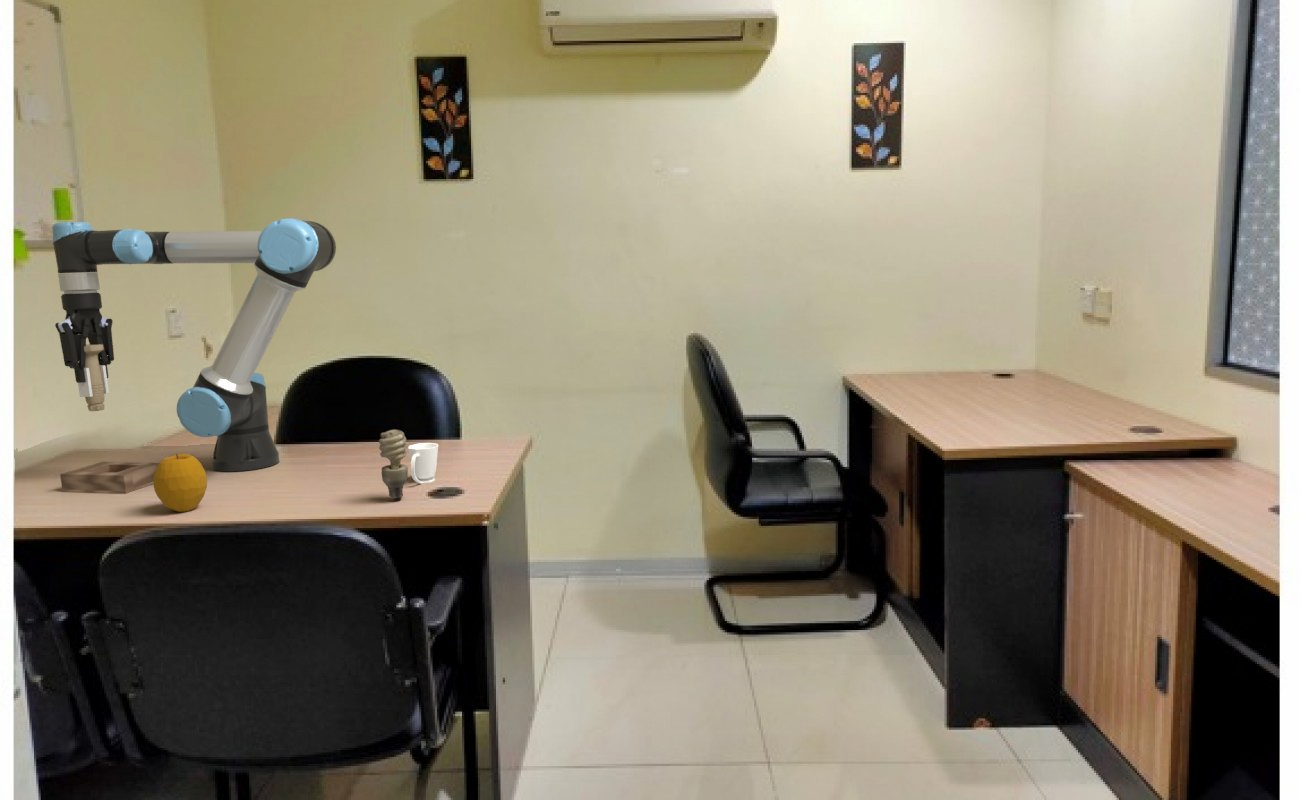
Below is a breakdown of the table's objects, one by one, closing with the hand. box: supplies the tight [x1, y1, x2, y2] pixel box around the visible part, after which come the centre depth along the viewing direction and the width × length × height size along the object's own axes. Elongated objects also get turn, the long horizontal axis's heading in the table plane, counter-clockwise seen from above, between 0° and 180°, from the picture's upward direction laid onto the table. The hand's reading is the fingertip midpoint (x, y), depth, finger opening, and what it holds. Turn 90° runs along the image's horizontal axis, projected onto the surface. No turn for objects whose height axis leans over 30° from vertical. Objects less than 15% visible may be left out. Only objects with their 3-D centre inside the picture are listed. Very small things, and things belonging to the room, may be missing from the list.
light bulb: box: [378, 429, 409, 501], centre depth 180 cm, size 6×6×15 cm
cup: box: [407, 442, 439, 485], centre depth 195 cm, size 7×10×8 cm
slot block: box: [59, 461, 160, 494], centre depth 198 cm, size 16×12×4 cm
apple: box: [152, 453, 208, 513], centre depth 177 cm, size 10×10×12 cm
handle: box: [84, 344, 105, 412], centre depth 199 cm, size 5×6×15 cm
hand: (94, 394), depth 200 cm, fingers closed on handle, 4 cm apart
